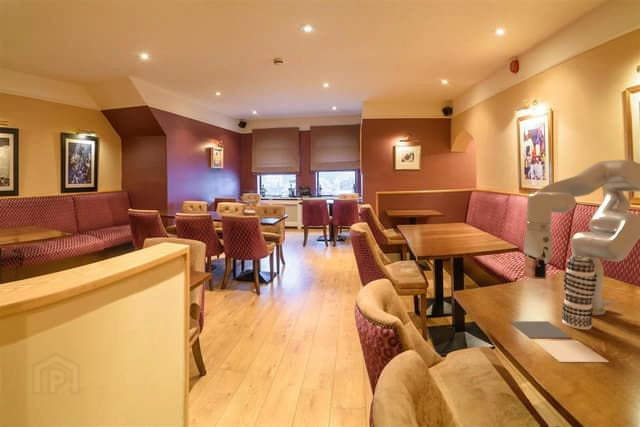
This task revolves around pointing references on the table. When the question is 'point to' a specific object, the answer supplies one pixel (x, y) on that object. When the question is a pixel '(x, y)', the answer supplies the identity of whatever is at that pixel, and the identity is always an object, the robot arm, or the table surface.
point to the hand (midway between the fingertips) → (535, 274)
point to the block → (532, 268)
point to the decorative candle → (579, 292)
